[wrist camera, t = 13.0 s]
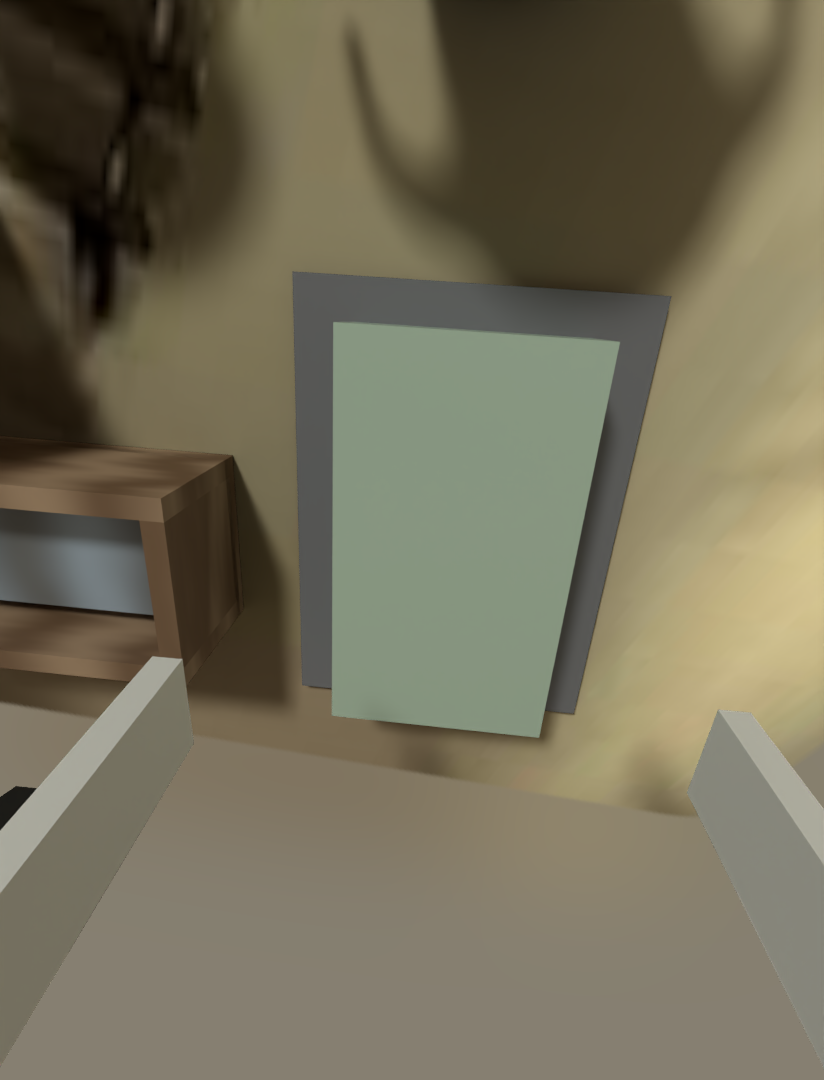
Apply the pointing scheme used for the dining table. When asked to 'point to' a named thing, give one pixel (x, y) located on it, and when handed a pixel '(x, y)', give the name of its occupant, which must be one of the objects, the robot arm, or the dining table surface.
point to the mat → (484, 310)
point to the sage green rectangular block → (457, 518)
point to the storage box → (114, 557)
